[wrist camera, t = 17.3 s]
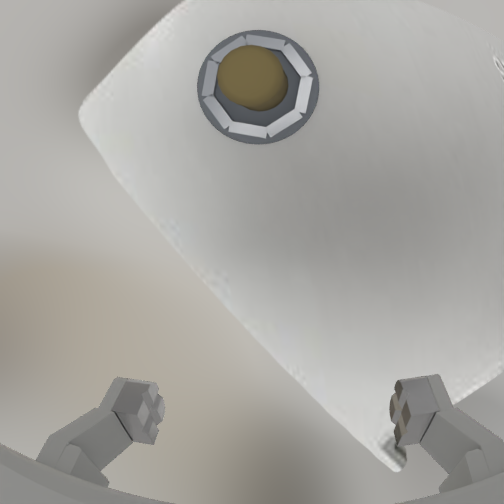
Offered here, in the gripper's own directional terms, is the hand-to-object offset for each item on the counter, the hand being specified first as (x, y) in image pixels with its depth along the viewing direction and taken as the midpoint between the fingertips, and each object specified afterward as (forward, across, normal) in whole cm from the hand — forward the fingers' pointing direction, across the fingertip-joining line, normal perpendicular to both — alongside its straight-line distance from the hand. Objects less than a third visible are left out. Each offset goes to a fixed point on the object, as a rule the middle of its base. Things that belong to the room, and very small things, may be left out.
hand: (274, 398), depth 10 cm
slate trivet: (+29, -2, +12) cm, 31 cm away
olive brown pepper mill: (+29, -2, +12) cm, 31 cm away
